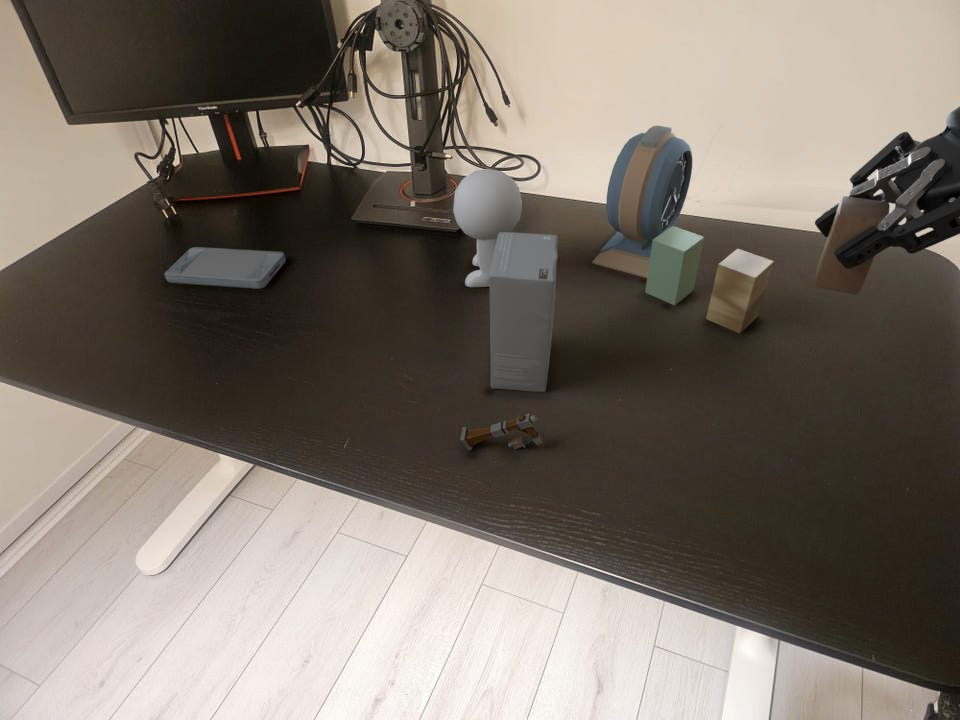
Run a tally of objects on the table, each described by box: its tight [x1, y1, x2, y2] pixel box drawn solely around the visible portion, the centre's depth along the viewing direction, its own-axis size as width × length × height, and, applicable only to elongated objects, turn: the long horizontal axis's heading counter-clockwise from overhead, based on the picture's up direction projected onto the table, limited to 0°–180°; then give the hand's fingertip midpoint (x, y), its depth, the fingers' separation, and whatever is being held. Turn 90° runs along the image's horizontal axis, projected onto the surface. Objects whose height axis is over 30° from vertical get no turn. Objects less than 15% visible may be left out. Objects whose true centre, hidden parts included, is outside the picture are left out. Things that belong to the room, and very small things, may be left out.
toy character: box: [452, 168, 523, 288], centre depth 82 cm, size 9×9×15 cm
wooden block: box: [813, 195, 891, 295], centre depth 57 cm, size 4×4×8 cm
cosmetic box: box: [489, 231, 559, 393], centre depth 66 cm, size 8×7×16 cm
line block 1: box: [644, 225, 705, 306], centre depth 78 cm, size 4×4×8 cm
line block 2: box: [705, 248, 775, 334], centre depth 73 cm, size 4×4×8 cm
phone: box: [163, 246, 287, 290], centre depth 91 cm, size 8×16×1 cm, turn 78°
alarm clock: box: [591, 125, 693, 279], centre depth 83 cm, size 14×10×18 cm
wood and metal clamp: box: [460, 413, 544, 452], centre depth 61 cm, size 2×8×4 cm, turn 84°
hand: (830, 244), depth 58 cm, fingers closed on wooden block, 5 cm apart
